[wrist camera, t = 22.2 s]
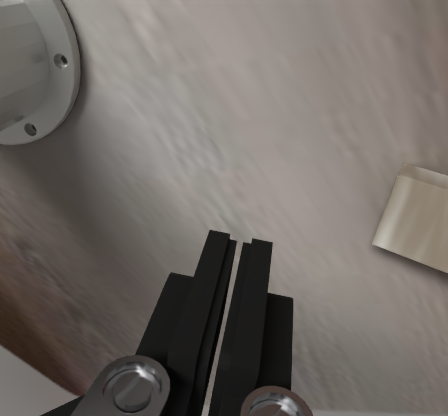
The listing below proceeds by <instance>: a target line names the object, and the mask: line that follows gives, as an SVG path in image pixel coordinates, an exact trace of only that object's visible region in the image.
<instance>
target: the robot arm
mask: <svg viewBox="0 0 448 416" xmlns="http://www.w3.org/2000/svg"><path fill="white" fill-rule="evenodd" d="M65 57H66V59H67V61H66V60H65ZM80 76H81V71H80V54H79V49H78V45H77V40H76V35H75V32H74V29H73V27H72V24H71V22H70V19H69V16H68V14H67V11H66V10H65V8H64V6H63V4H62V3H61V1H60V0H0V144H3V145H20V144H27V143H30V142H33V141H36V140H38V139H41V138H43V137H44V136H46V135H47V134H49V133H51V132H52V131H54V130H55V129H56V128H57V127H58V126H59V125H60V124H61V123H63V122H64V121H65V119H66V118H67V116H68V114H69V113H70V111H71V110H72V108H73V106H74V103H75V100H76V97H77V95H78V91H79V83H80ZM236 244H237V241H235V240H230V234H228V233H223V232H218V231H213V230H210V231H209V234H208V237H207V239H206V242H205V245H204V248H203V251H202V254H201V257H200V260H199V263H198V266H197V269H196V271H195V274H194V277H191V276H186V275H181V274H176V273H172V272H171V273H170V275H169V277H168V279H167V281H166V283H165V286H164V288H163V290H162V293H161V295H160V297H159V300H158V302H157V305H156V307H155V309H154V312H153V314H152V316H151V319H150V321H149V323H148V326H147V328H146V331H145V333H144V335H143V338H142V340H141V342H140V345H139V347H138V349H137V352H136V354H135V355H132V356H125V357H122V358H119V359H116V360H115V361H113V362H112V363H110V364H108V365H107V366H106V367H105V368H104V369H103V370H102V371H101V372H100V374H99V375H98V377H97V378H96V379H95V381H94V382H93V384H92V385H91V387H90V388H89V390H88V391H87V393H86V394H85V395H83V396H81V397H79V398H77V399H74V400H72V401H70V402H68V403H66V404H64V405H62V406H60V407H58V408H55V409H53V410H51V411H49V412H47V413H45V414H43V415H41V416H201V415H202V410H203V406H204V401H205V397H206V392H207V388H208V383H209V379H210V374H211V370H212V365H213V361H214V356H215V352H216V347H217V343H218V338H219V334H220V329H221V325H222V320H223V315H224V310H225V304H226V299H227V293H228V288H229V282H230V277H231V271H232V266H233V260H234V255H235V249H236ZM272 245H273V243H272V242H268V241H263V240H258V239H253V238H252V242H251V244H250V243H245V242H243V246H242V251H241V256H240V261H239V265H238V270H237V275H236V280H235V284H234V289H233V294H232V299H231V304H230V308H229V313H228V318H227V323H226V327H225V332H224V337H223V342H222V347H221V351H220V356H219V361H218V366H217V371H216V377H215V382H214V387H213V393H212V398H211V403H210V409H209V414H208V416H313V414H312V412H311V410H310V409H309V407H308V406H307V404H306V403H305V401H303V400H302V399H301V398H300V397H299V396H298V395H297V394H295V393H293V392H292V391H291V371H292V334H293V298H290V297H286V296H281V295H276V294H271V293H267V292H268V283H269V273H270V264H271V254H272Z"/></svg>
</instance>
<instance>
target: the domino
mask: <svg viewBox="0 0 448 416" xmlns="http://www.w3.org/2000/svg"><path fill="white" fill-rule="evenodd" d="M372 244H373V245H376V246H378V247H381V248H383V249H386V250H389V251H391V252H394V253H396V254H399V255H402V256H404V257H407V258H409V259H412V260H414V261H417V262H420V263H422V264H425V265H427V266H430V267H433V268H435V269H438V270H440V271H443V272H445V273H448V176H446V175H443V174H440V173H437V172H433V171H430V170H427V169H423V168H420V167H417V166H414V165H410V164H407V163H404V165H403V167H402V168H401V170H400V172H399V174H398V177H397V180H396V182H395V185H394V187H393V190H392V193H391V195H390V198H389V201H388V203H387V206H386V208H385V211H384V214H383V216H382V219H381V222H380V224H379V227H378V229H377V232H376V235H375V237H374V240H373V243H372Z"/></svg>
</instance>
